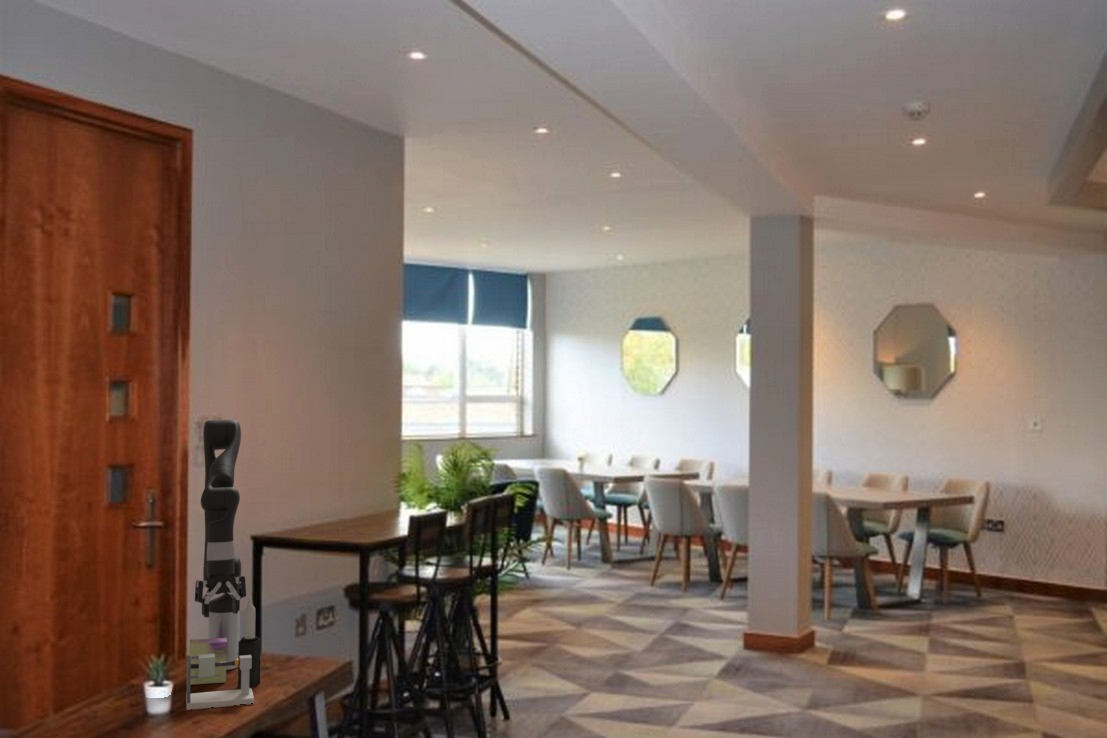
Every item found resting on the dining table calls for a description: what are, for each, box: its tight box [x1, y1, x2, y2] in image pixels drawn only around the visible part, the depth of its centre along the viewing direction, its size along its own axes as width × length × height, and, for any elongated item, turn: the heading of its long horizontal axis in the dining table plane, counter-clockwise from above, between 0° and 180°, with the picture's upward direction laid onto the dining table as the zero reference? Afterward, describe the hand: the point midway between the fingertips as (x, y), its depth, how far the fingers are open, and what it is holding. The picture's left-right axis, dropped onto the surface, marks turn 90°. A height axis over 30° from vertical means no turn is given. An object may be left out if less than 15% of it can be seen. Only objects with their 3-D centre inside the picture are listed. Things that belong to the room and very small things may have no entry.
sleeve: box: [198, 654, 215, 677], centre depth 281 cm, size 4×4×5 cm
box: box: [188, 638, 227, 686], centre depth 302 cm, size 10×6×12 cm, turn 108°
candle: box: [237, 596, 262, 689], centre depth 298 cm, size 5×5×25 cm
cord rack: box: [185, 655, 255, 711], centre depth 282 cm, size 10×17×12 cm, turn 110°
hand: (220, 615), depth 298 cm, fingers open, 8 cm apart
